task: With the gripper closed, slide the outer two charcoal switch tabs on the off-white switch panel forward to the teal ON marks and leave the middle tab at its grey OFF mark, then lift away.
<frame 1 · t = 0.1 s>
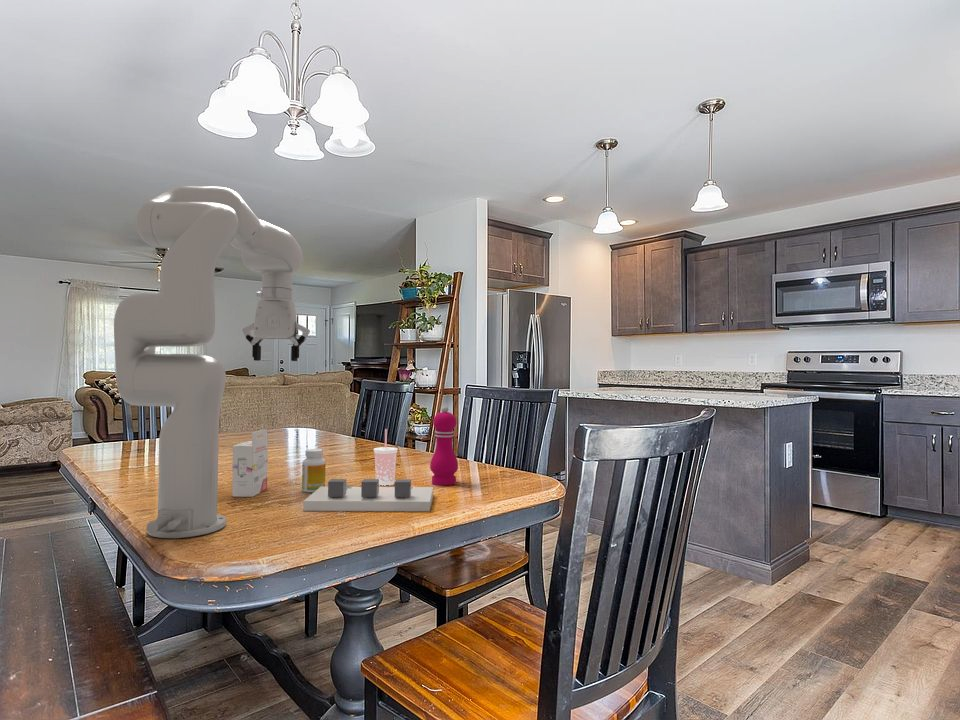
hand: (275, 360, 145), 31 cm above the table, fingers open, 9 cm apart
pepper mill: (443, 484, 142), on the table
tab 2: (370, 487, 117), point 4 cm above the table, slide at 0.0 cm
supplement bottle: (313, 491, 132), on the table
ink cartridge box: (249, 493, 128), on the table
switch panel: (372, 502, 120), on the table
tab 3: (403, 488, 117), point 4 cm above the table, slide at 0.0 cm
tab 1: (337, 487, 117), point 4 cm above the table, slide at 0.0 cm
beverage cup: (385, 484, 140), on the table
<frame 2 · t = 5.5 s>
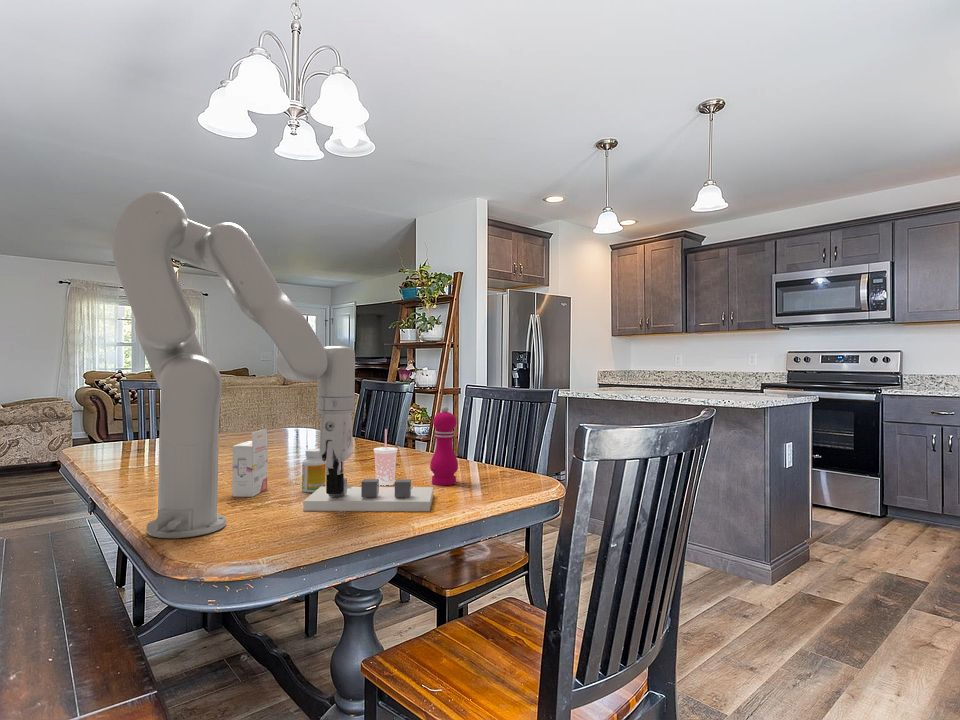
hand: (334, 492, 114), 3 cm above the table, fingers closed
tab 1: (338, 487, 118), point 4 cm above the table, slide at 0.7 cm, touching gripper
everything else where it was.
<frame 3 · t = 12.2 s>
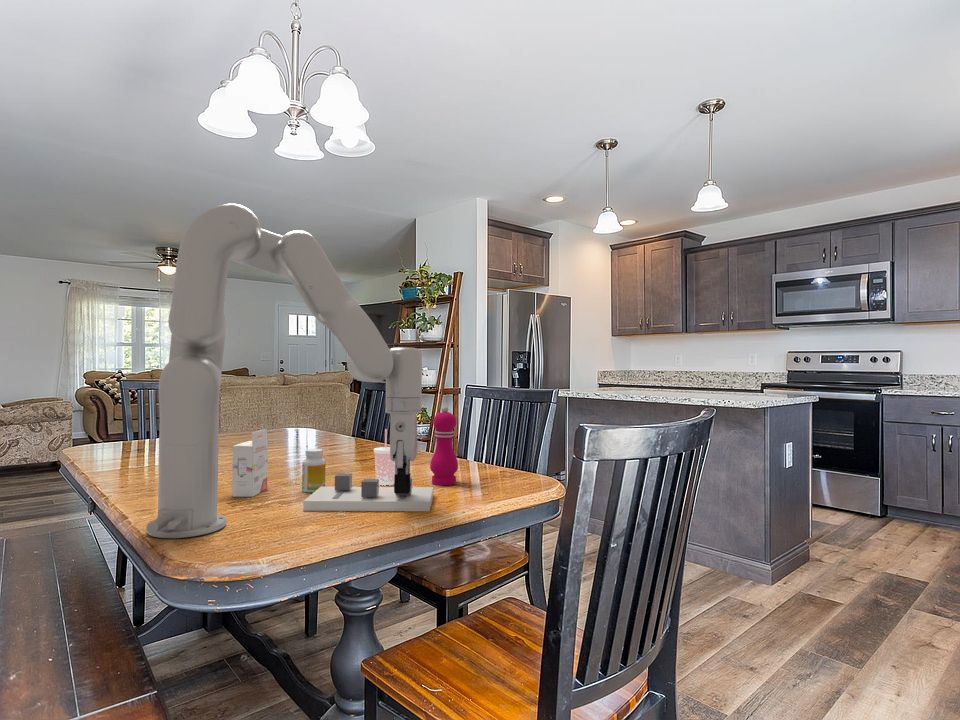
hand: (402, 492, 116), 3 cm above the table, fingers closed
tab 3: (403, 486, 119), point 4 cm above the table, slide at 1.6 cm, touching gripper
tab 1: (343, 481, 123), point 4 cm above the table, slide at 6.1 cm
everything else where it was.
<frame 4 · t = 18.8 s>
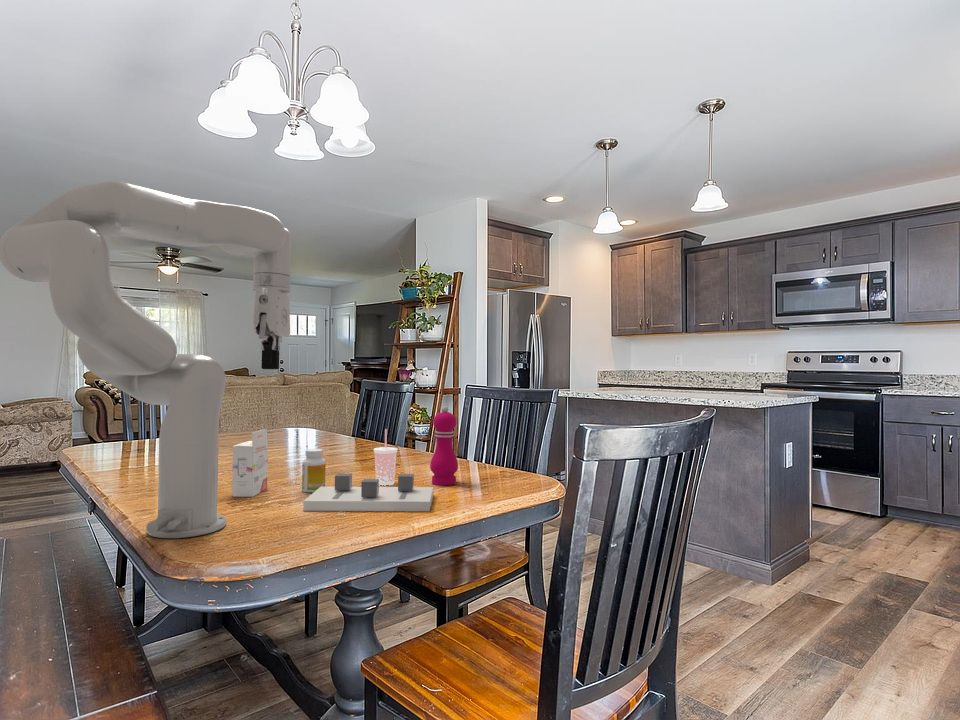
hand: (270, 369, 118), 29 cm above the table, fingers closed
tab 3: (405, 482, 124), point 4 cm above the table, slide at 6.1 cm
everything else where it was.
at the end: tab 1 slide at 6.1 cm; tab 3 slide at 6.1 cm; tab 2 slide at 0.0 cm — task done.
